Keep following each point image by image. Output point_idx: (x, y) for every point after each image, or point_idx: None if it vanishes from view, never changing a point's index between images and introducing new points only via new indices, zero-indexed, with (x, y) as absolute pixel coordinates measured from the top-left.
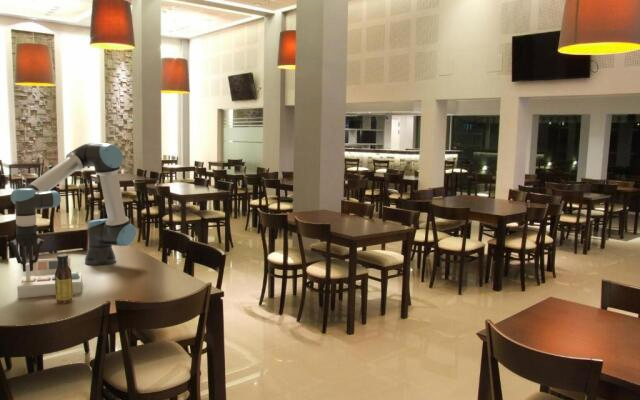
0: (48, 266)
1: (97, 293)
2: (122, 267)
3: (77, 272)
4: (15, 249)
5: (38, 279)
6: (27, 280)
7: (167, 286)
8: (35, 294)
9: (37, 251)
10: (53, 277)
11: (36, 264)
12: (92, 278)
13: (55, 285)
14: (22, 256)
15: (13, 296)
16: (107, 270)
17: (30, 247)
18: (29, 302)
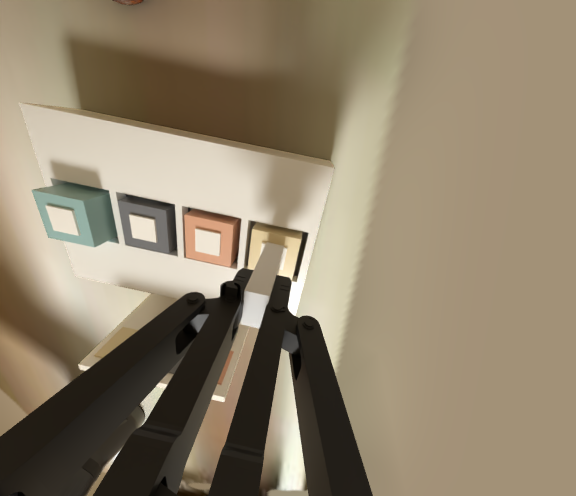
0: None
1: (3, 58)
2: (37, 347)
3: (46, 221)
4: (340, 471)
5: (230, 235)
6: (278, 241)
7: None
8: (259, 146)
9: (113, 369)
10: (167, 237)
11: (229, 375)
12: (91, 287)
13: None
14: (276, 359)
15: (341, 199)
16: (70, 340)
17: (140, 448)
18: (292, 49)
